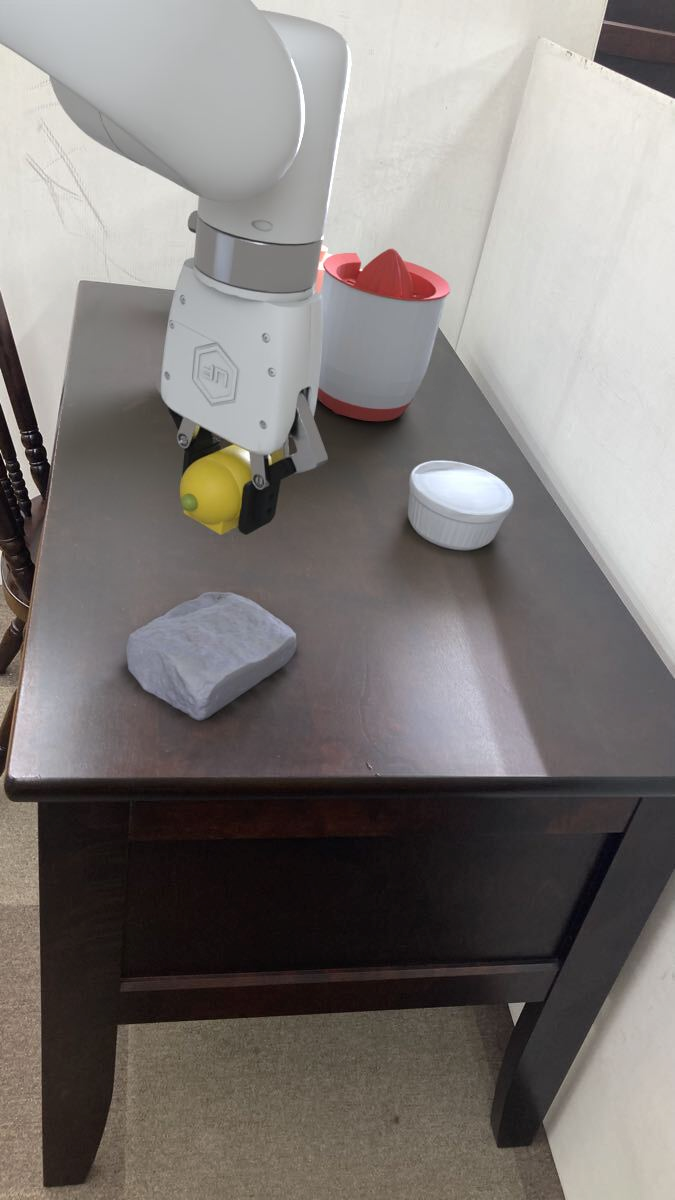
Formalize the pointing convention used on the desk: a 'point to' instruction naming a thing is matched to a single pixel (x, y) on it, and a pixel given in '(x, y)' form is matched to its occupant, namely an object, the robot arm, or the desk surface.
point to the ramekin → (457, 504)
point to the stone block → (208, 652)
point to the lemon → (216, 488)
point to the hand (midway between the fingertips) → (226, 507)
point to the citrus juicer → (376, 333)
